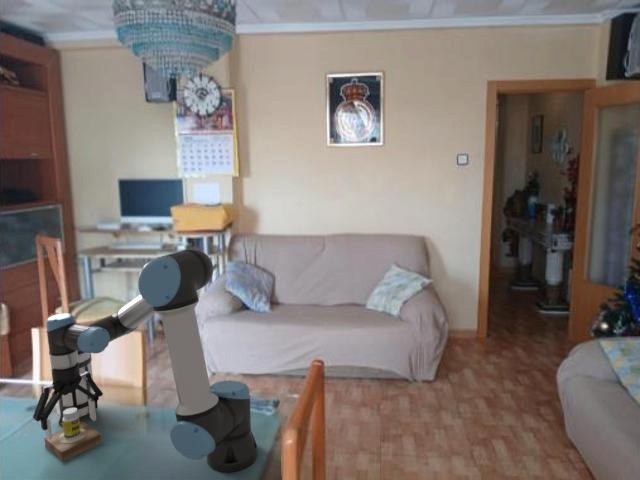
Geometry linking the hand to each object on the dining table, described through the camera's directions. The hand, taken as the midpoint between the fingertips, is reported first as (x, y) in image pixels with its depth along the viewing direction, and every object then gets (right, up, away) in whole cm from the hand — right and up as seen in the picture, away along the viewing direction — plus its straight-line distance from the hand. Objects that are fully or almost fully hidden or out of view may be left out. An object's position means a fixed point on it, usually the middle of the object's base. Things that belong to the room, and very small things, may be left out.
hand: (71, 428), depth 153 cm
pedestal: (0, -6, +1) cm, 6 cm away
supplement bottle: (0, -3, +1) cm, 3 cm away
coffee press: (-7, -3, +18) cm, 19 cm away
